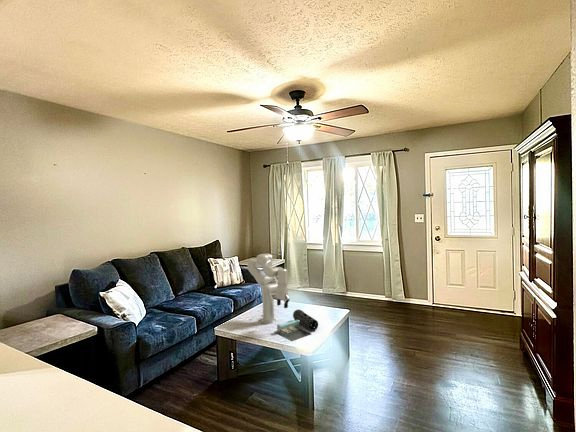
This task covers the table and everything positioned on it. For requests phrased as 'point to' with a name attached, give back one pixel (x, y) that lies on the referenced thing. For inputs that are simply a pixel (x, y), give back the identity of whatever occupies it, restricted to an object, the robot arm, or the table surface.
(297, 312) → the muzzle brake
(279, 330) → the swing arm
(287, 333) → the dark grey mat
